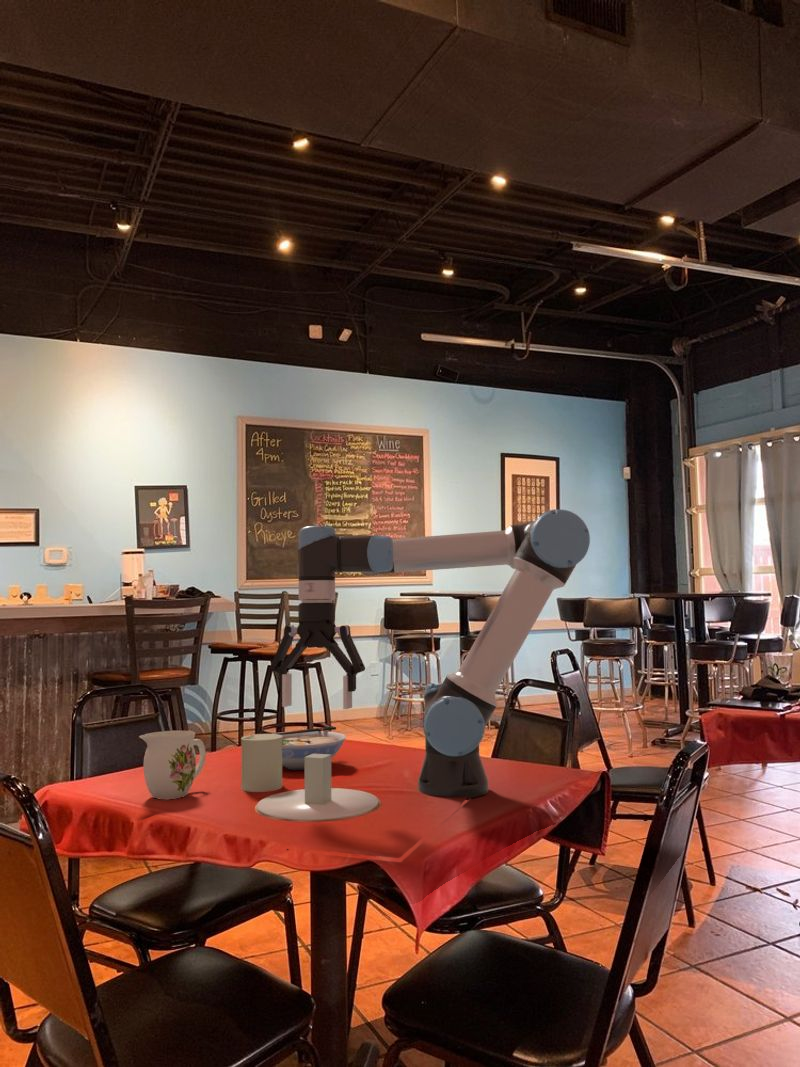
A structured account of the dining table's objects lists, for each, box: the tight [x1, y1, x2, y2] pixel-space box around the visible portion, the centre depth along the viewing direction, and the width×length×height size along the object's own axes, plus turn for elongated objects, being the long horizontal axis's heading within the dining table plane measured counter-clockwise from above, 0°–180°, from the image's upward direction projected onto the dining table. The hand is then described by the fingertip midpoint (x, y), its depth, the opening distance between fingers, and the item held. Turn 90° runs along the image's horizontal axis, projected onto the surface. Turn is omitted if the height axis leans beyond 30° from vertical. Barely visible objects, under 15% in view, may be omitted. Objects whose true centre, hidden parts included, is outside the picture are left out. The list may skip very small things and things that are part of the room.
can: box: [240, 733, 283, 793], centre depth 178 cm, size 9×9×12 cm
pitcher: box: [138, 730, 207, 800], centre depth 174 cm, size 11×18×14 cm, turn 148°
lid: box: [256, 754, 379, 822], centre depth 161 cm, size 24×24×10 cm
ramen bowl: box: [272, 725, 347, 771], centre depth 202 cm, size 25×23×8 cm
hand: (316, 707), depth 162 cm, fingers open, 13 cm apart
